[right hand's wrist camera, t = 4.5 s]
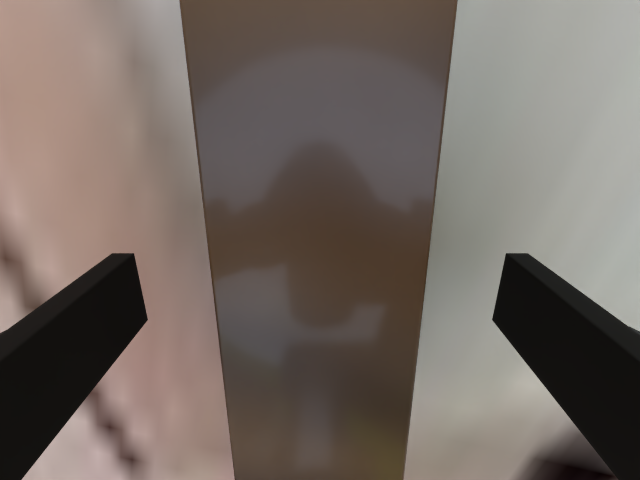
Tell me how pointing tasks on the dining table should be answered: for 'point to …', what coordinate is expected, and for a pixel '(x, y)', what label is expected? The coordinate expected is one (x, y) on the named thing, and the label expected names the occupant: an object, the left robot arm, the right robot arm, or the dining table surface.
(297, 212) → the post
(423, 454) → the dining table surface
